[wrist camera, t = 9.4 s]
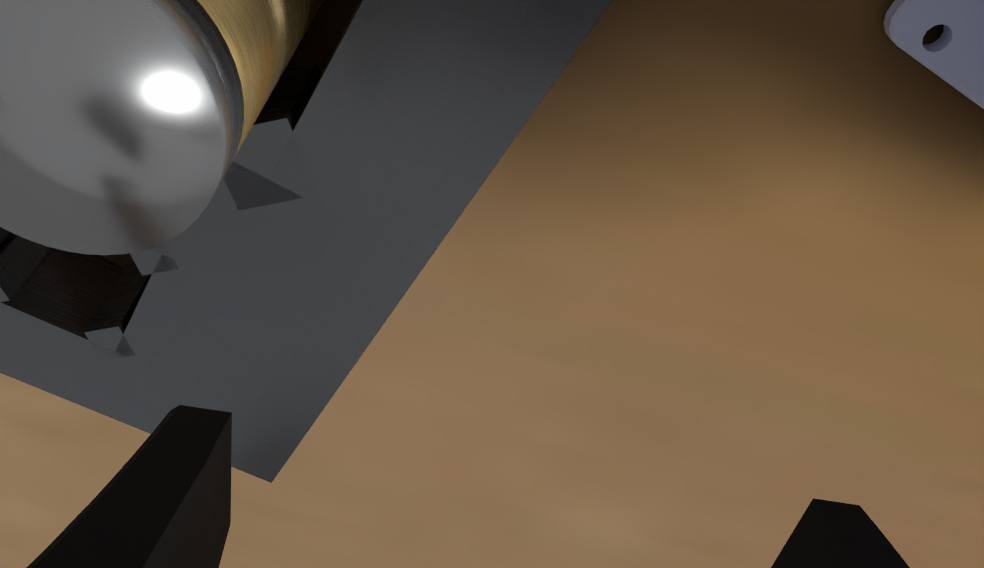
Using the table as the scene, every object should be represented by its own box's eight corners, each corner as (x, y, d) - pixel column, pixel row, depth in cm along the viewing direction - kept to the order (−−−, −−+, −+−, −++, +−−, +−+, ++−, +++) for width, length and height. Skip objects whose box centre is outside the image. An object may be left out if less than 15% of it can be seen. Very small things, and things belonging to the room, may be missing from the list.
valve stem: (371, -12, 16) (288, 171, 11) (214, 88, 18) (68, 297, 12) (230, -220, 14) (39, -127, 9) (64, -89, 16) (-192, 64, 10)
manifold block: (608, -56, 16) (621, -13, 14) (293, 409, 23) (271, 482, 21) (-74, -522, 12) (-191, -558, 10) (-197, 196, 20) (-279, 259, 17)
